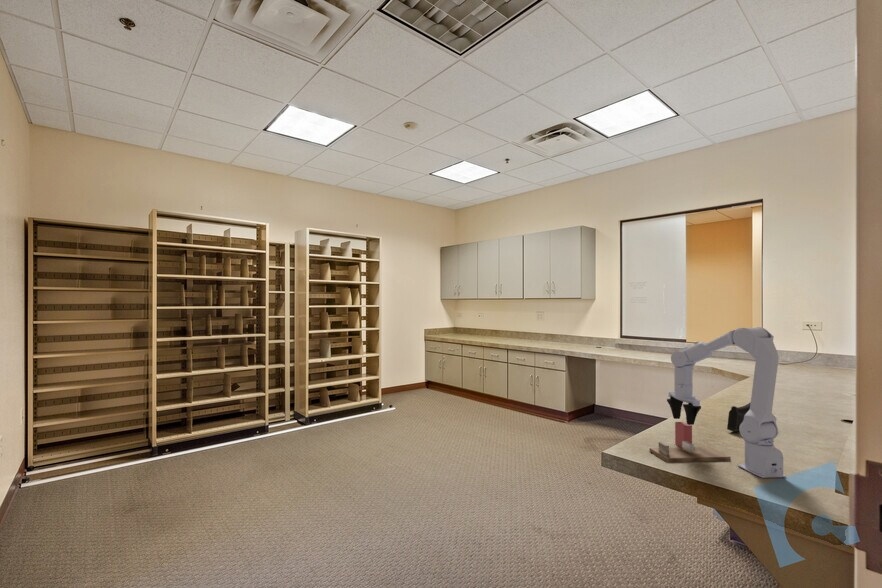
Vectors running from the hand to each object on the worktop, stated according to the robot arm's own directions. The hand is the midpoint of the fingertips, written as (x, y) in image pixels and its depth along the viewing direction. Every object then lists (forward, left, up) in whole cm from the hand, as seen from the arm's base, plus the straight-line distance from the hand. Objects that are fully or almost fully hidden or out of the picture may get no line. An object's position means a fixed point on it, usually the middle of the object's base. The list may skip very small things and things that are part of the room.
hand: (683, 421), depth 156 cm
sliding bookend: (-10, +5, -7) cm, 14 cm away
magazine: (+21, -43, -9) cm, 48 cm away
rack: (-10, +5, -9) cm, 14 cm away
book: (0, 0, -9) cm, 9 cm away
